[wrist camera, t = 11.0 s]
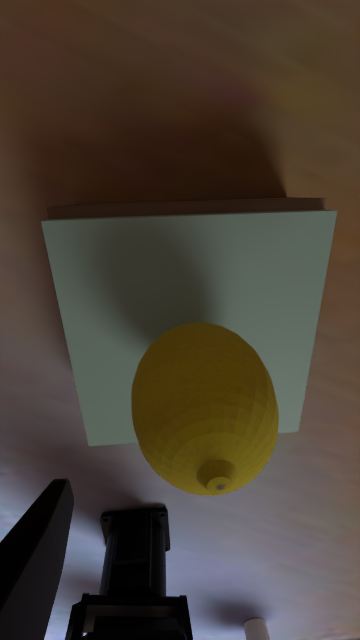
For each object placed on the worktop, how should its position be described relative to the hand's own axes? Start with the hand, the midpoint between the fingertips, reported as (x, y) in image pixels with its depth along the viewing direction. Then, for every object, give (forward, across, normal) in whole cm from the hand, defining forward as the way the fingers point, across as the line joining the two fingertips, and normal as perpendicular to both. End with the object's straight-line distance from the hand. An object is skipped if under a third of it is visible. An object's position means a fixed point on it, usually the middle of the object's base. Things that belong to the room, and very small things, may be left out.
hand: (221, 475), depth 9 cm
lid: (+8, 0, 0) cm, 8 cm away
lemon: (+8, 0, 0) cm, 8 cm away
